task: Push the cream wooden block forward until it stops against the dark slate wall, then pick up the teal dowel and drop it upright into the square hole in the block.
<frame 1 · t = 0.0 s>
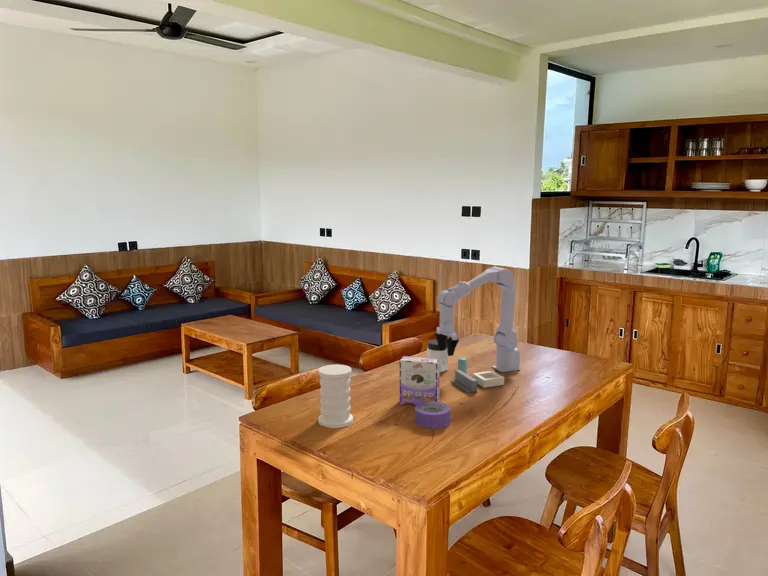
hand: (446, 353, 240), 10 cm above the table, tool pointing down, fingers open, 7 cm apart
dowel: (462, 375, 243), on the table
block: (488, 379, 234), point 2 cm above the table, slide at 0.0 cm
tape roll: (432, 422, 197), on the table
candy box: (419, 403, 214), on the table
decorative container: (335, 421, 197), on the table
wall: (465, 386, 230), on the table
jar: (437, 369, 251), on the table
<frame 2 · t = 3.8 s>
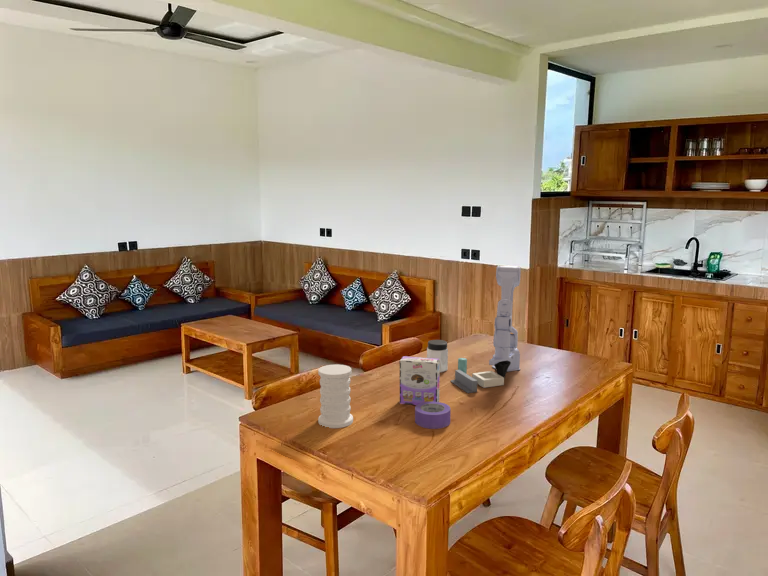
hand: (501, 378, 236), 1 cm above the table, tool pointing down, fingers closed
block: (487, 379, 234), point 2 cm above the table, slide at 0.2 cm, touching gripper
everything else where it was.
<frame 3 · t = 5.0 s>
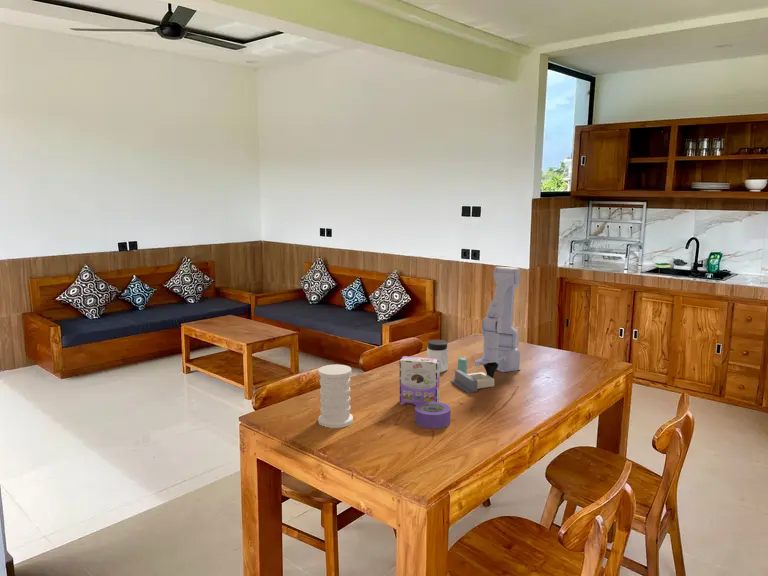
hand: (489, 380, 234), 1 cm above the table, tool pointing down, fingers closed
block: (478, 380, 232), point 2 cm above the table, slide at 4.5 cm, touching gripper, wall
everything else where it was.
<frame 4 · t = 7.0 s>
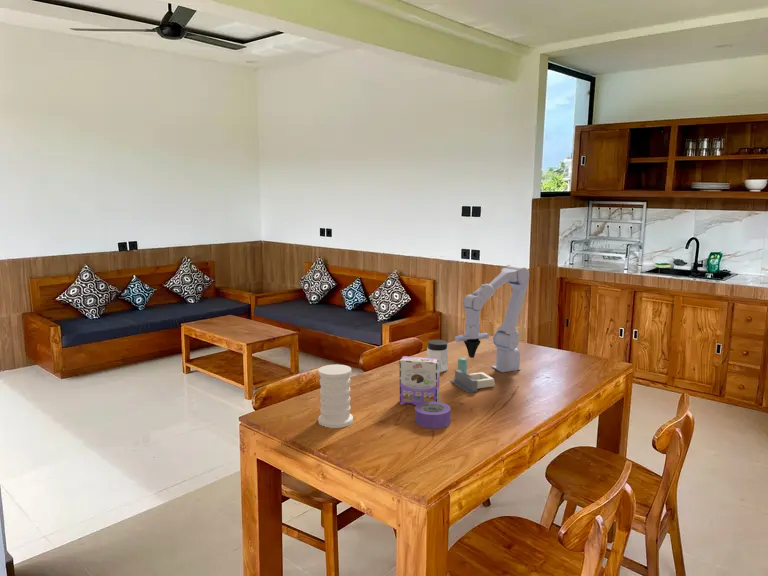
hand: (471, 357, 240), 8 cm above the table, tool pointing down, fingers closed
block: (478, 380, 232), point 2 cm above the table, slide at 4.5 cm, touching wall
everything else where it was.
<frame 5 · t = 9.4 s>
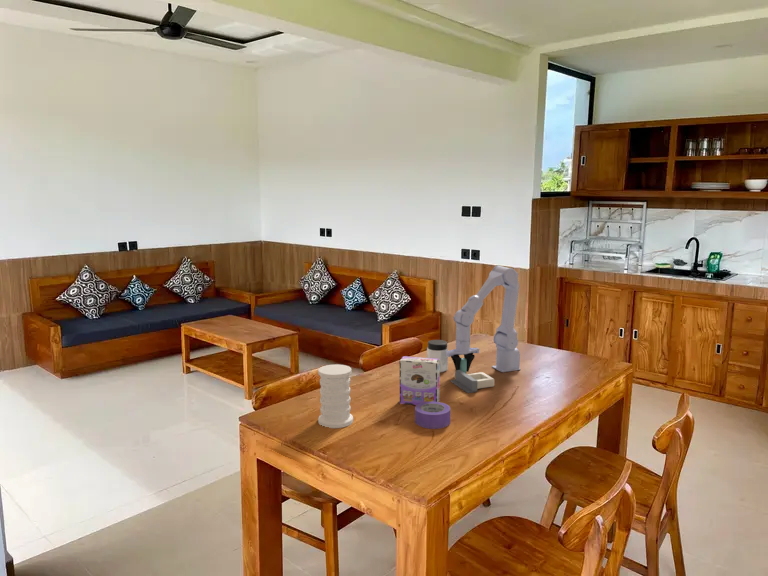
hand: (462, 371, 243), 2 cm above the table, tool pointing down, fingers closed on dowel, 4 cm apart
dowel: (462, 375, 243), on the table, touching gripper
everything else where it was.
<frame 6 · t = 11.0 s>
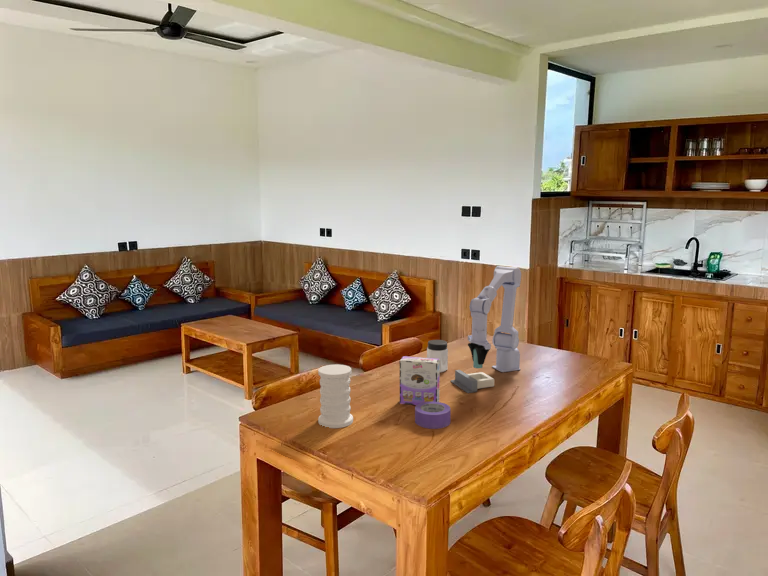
hand: (478, 362, 231), 9 cm above the table, tool pointing down, fingers closed on dowel, 4 cm apart
dowel: (477, 367, 231), point 7 cm above the table, touching gripper
everything else where it was.
when the fingers open (4 cm above the table, at t = 12.6 s): dowel drops 2 cm, resting in block.
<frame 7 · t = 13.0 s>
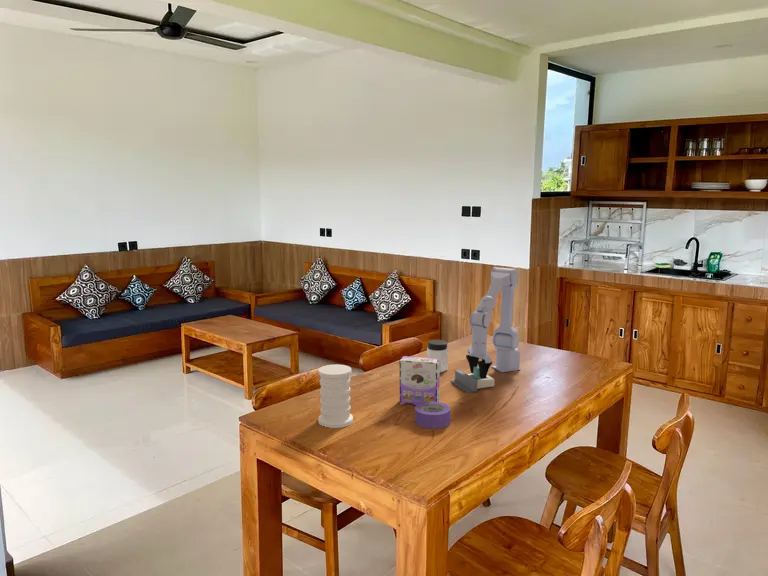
hand: (478, 375, 232), 4 cm above the table, tool pointing down, fingers open, 7 cm apart
dowel: (477, 384, 232), resting in block
everything else where it was.
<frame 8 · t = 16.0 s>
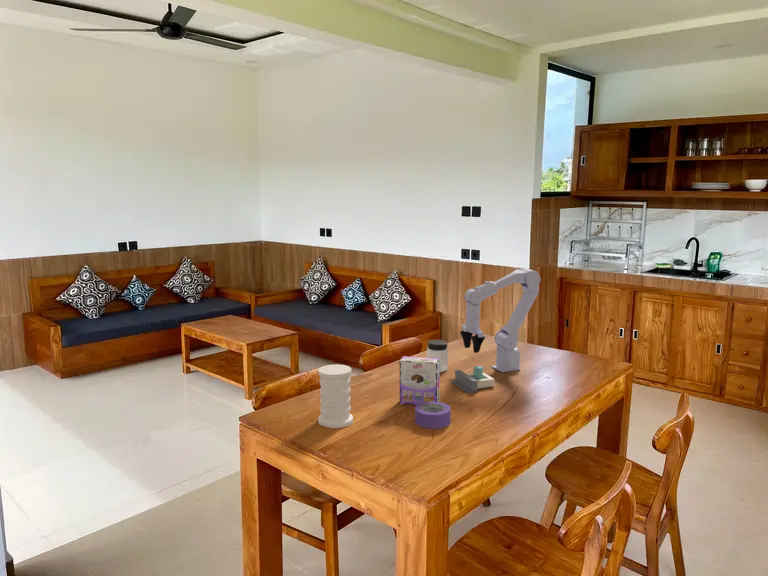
hand: (471, 350, 246), 9 cm above the table, tool pointing down, fingers open, 7 cm apart
nothing on the table moved.
at the end: block slide at 4.5 cm; dowel 0.1 cm off-centre on the block, point 0.0 cm above the block's base; dowel tilted 0° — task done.
